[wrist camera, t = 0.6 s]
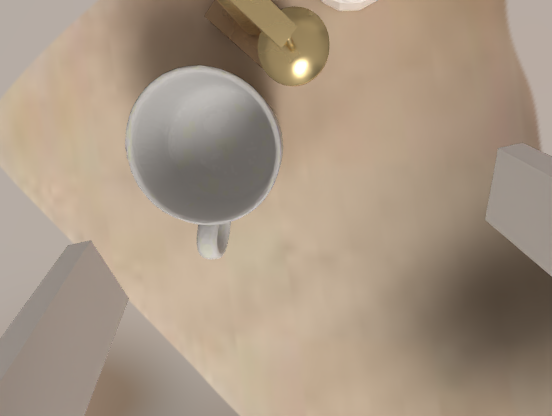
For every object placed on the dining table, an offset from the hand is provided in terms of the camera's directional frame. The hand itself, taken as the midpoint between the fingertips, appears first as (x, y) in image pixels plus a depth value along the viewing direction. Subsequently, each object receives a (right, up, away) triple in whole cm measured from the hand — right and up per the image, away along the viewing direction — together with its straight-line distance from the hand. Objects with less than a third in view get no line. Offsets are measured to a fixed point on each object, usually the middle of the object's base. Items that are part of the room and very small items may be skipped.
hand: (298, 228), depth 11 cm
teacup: (-5, +5, +19) cm, 20 cm away
